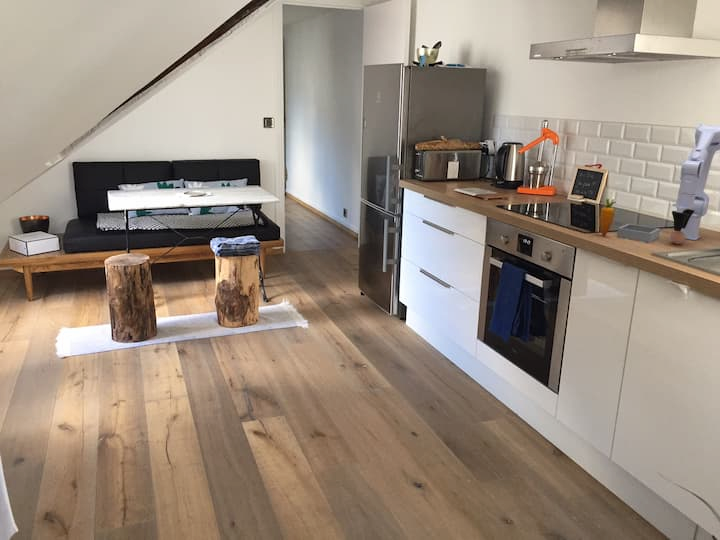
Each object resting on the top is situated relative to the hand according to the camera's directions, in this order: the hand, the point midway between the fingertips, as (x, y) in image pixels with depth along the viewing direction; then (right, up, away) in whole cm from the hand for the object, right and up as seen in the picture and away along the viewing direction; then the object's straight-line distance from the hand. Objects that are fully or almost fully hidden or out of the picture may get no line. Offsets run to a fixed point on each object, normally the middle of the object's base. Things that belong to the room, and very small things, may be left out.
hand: (679, 229), depth 225 cm
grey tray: (-11, -2, +10) cm, 15 cm away
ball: (0, -3, +1) cm, 3 cm away
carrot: (-25, -2, +8) cm, 27 cm away
